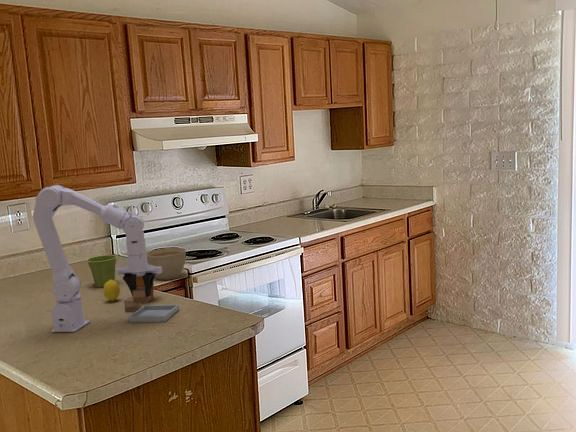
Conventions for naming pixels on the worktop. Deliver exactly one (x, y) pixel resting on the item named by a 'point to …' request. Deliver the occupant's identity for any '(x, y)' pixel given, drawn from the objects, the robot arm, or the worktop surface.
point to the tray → (154, 313)
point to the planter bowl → (168, 262)
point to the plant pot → (102, 268)
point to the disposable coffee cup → (141, 283)
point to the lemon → (111, 290)
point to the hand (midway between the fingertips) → (141, 296)
